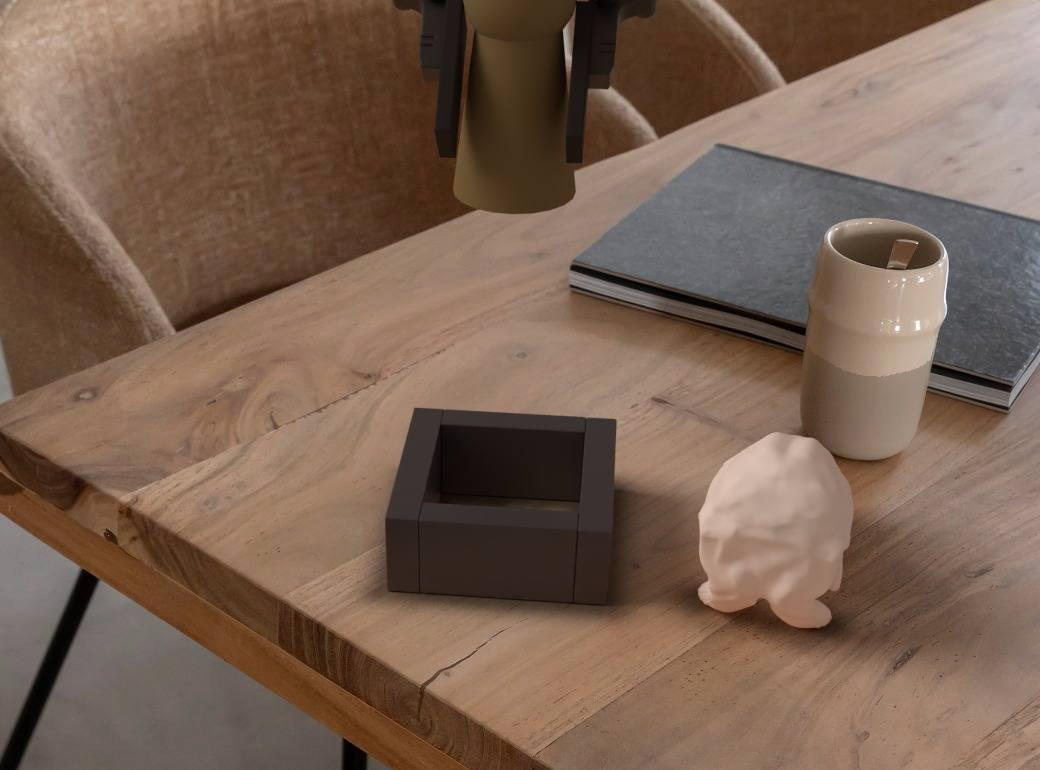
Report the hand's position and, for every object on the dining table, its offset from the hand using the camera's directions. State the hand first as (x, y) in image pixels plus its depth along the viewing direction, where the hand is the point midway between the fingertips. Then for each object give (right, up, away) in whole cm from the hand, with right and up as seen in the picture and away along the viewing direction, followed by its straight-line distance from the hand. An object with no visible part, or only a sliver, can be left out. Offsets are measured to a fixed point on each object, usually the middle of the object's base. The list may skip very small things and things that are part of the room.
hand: (509, 146), depth 67 cm
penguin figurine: (+12, -20, +1) cm, 23 cm away
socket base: (0, -18, +4) cm, 18 cm away
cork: (0, -1, +5) cm, 5 cm away
